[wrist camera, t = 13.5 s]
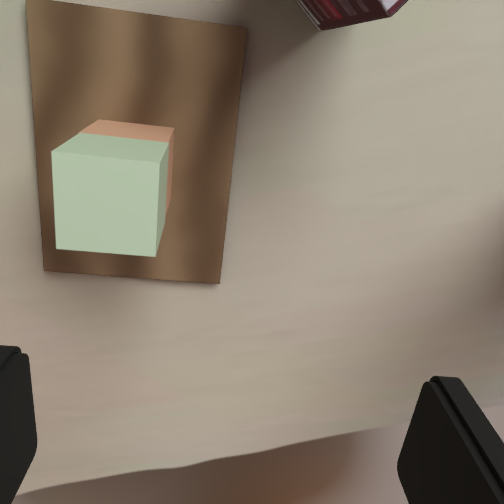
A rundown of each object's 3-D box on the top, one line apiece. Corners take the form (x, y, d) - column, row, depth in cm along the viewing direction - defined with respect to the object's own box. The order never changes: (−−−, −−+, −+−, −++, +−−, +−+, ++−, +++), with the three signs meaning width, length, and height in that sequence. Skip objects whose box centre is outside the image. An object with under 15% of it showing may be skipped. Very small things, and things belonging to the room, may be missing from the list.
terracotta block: (174, 127, 37) (167, 142, 32) (170, 198, 40) (163, 222, 34) (98, 119, 37) (78, 132, 31) (99, 191, 39) (80, 215, 34)
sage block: (169, 142, 32) (159, 162, 26) (164, 223, 34) (155, 256, 29) (79, 132, 31) (51, 151, 26) (81, 215, 34) (56, 248, 28)
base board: (246, 28, 36) (247, 27, 35) (219, 278, 44) (219, 283, 43) (30, -3, 34) (25, -4, 33) (47, 265, 43) (44, 270, 42)
